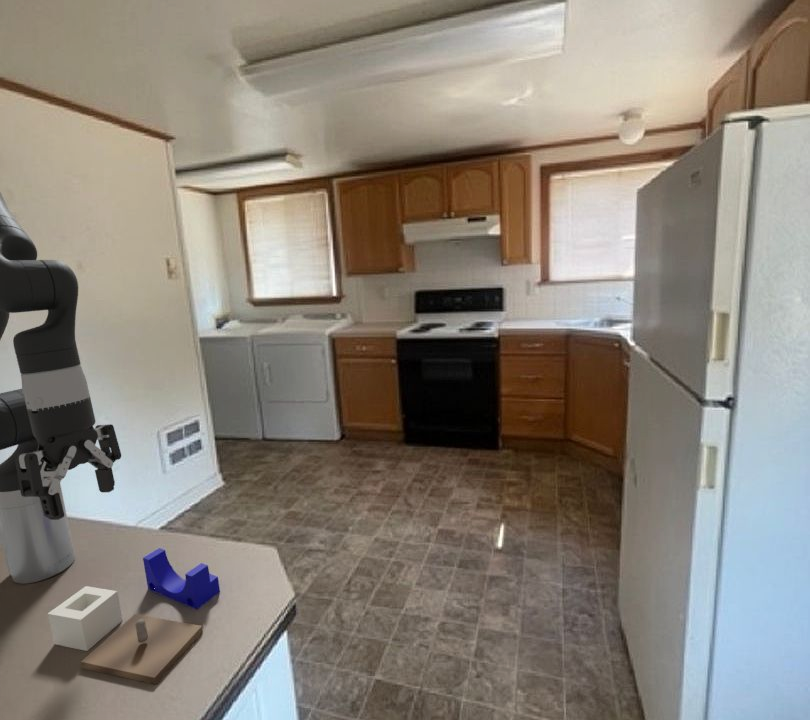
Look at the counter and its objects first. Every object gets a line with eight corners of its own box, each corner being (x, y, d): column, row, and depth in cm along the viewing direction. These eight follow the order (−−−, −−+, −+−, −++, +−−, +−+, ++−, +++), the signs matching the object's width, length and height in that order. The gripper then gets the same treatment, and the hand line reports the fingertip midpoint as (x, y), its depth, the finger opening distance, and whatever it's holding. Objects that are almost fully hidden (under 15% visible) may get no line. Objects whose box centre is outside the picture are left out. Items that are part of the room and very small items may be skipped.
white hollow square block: (54, 644, 67) (47, 613, 66) (91, 614, 73) (86, 586, 72) (87, 651, 66) (80, 619, 65) (122, 620, 71) (117, 591, 70)
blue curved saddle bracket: (220, 593, 77) (215, 560, 76) (196, 610, 73) (191, 576, 72) (172, 574, 82) (167, 543, 81) (148, 590, 78) (142, 557, 77)
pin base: (82, 668, 63) (75, 638, 62) (135, 619, 71) (131, 593, 70) (155, 684, 59) (150, 653, 59) (202, 631, 68) (198, 603, 67)
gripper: (81, 389, 75) (103, 484, 78) (-14, 415, 62) (15, 528, 64) (119, 386, 74) (140, 483, 76) (29, 412, 60) (58, 529, 62)
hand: (83, 504), depth 70 cm, fingers open, 8 cm apart
